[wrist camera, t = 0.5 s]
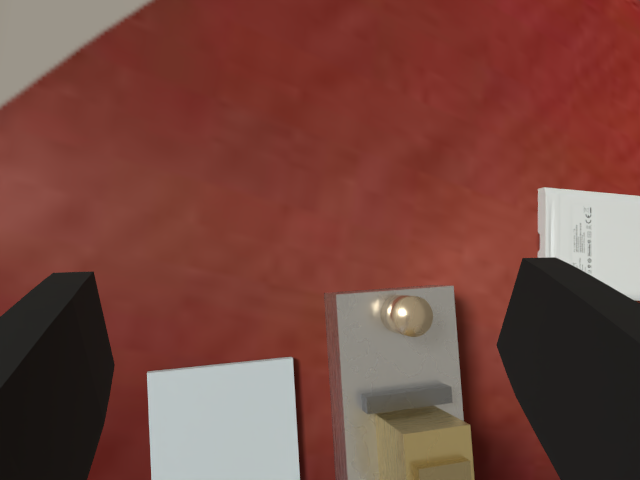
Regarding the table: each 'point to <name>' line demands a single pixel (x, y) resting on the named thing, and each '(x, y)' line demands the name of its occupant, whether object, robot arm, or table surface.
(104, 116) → the table surface
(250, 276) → the table surface
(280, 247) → the table surface
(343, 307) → the grey piece
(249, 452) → the mat
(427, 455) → the wooden block with pad
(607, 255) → the external hard drive
